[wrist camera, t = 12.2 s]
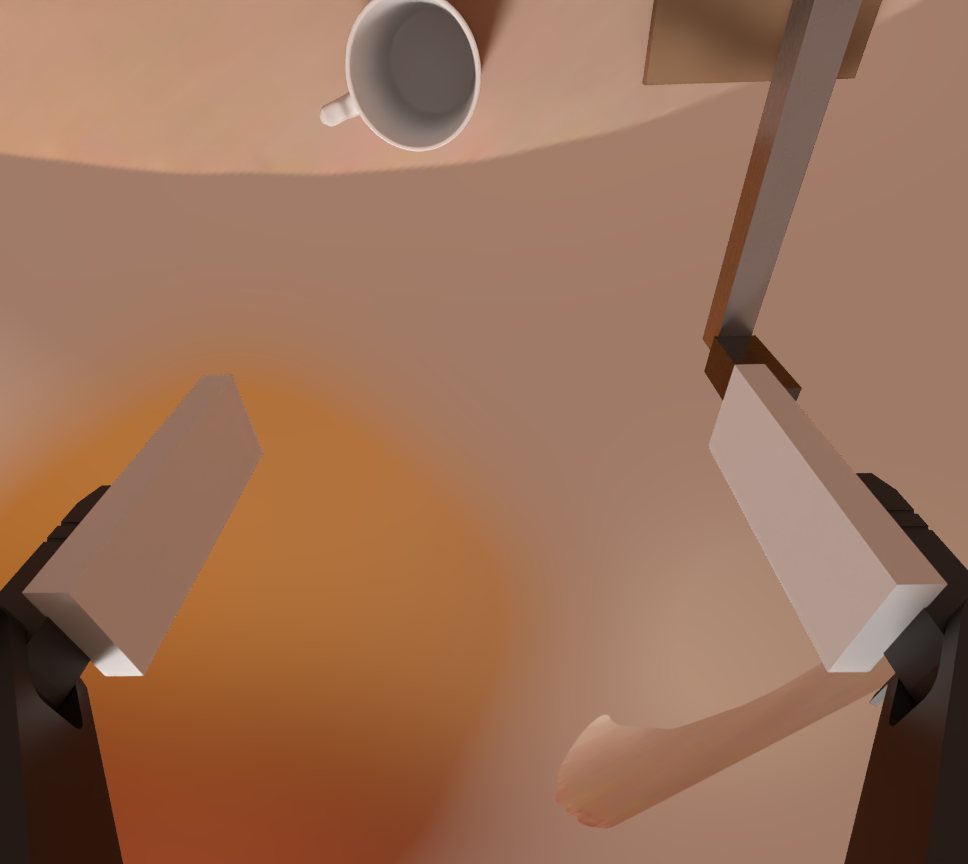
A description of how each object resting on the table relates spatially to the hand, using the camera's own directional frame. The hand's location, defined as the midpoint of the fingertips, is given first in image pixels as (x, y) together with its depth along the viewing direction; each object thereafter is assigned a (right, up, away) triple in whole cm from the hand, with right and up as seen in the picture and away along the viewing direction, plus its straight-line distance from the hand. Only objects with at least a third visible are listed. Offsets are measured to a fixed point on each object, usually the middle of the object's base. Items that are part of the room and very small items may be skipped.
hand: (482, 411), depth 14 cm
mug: (-5, +24, +22) cm, 33 cm away
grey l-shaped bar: (+18, +16, +19) cm, 31 cm away
